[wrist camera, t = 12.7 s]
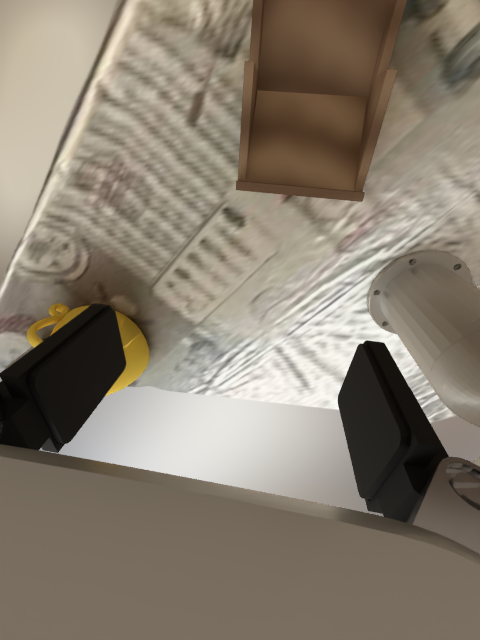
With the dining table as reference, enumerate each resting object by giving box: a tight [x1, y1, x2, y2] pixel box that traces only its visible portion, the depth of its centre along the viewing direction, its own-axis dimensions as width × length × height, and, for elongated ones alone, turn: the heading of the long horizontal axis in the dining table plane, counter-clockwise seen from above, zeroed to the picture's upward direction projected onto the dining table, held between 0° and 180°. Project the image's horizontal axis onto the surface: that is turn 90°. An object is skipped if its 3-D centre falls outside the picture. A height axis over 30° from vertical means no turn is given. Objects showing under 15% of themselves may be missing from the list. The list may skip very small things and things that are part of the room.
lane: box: [236, 0, 407, 202], centre depth 22 cm, size 27×13×7 cm, turn 176°
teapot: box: [27, 303, 149, 396], centre depth 43 cm, size 20×19×13 cm
